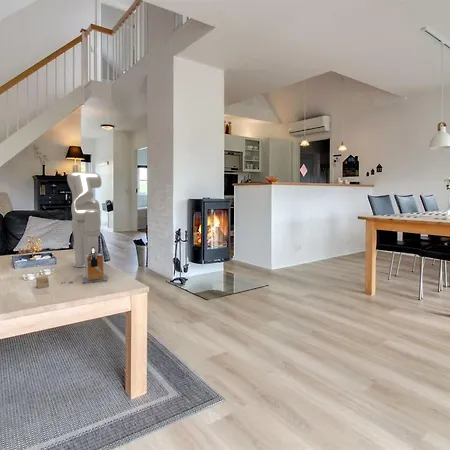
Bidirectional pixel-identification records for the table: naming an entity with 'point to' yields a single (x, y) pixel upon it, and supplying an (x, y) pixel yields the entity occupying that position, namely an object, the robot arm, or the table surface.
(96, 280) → the felt mat
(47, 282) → the oak block
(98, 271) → the small box
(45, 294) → the table surface
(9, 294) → the table surface
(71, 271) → the table surface
